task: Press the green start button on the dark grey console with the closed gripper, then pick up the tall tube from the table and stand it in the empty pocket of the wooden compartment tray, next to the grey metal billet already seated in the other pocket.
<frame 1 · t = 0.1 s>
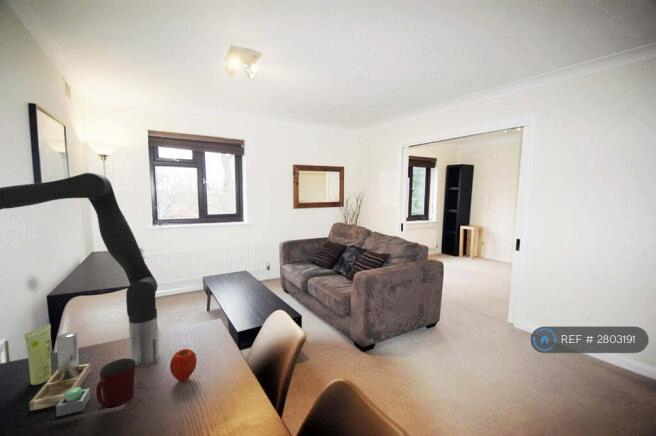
wooden compartment tray: (63, 390, 92), on the table
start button: (73, 396, 84), point 4 cm above the table, slide at 0.0 cm
console: (74, 409, 84), on the table
tube: (40, 383, 96), on the table
mug: (115, 403, 87), on the table
apple: (184, 380, 99), on the table
seated billet: (69, 380, 96), resting on wooden compartment tray
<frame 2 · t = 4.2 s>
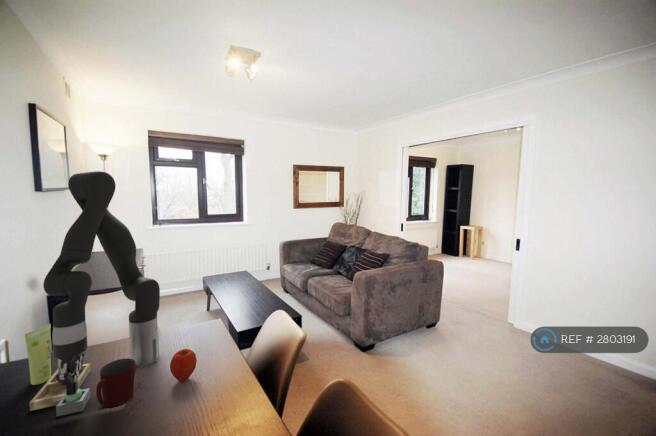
hand: (72, 393, 84), 5 cm above the table, tool pointing down, fingers closed
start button: (73, 397, 84), point 4 cm above the table, slide at 0.5 cm, touching gripper
everything else where it was.
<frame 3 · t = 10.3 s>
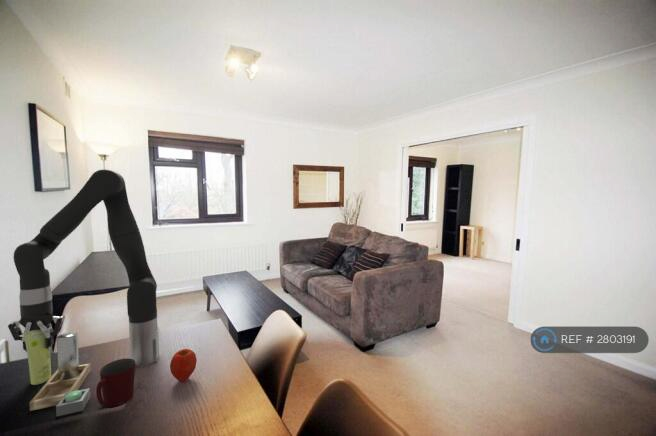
hand: (38, 348, 95), 12 cm above the table, tool pointing down, fingers closed on tube, 4 cm apart
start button: (73, 399, 84), point 3 cm above the table, slide at 1.0 cm
tube: (40, 383, 96), on the table, touching gripper
everything else where it was.
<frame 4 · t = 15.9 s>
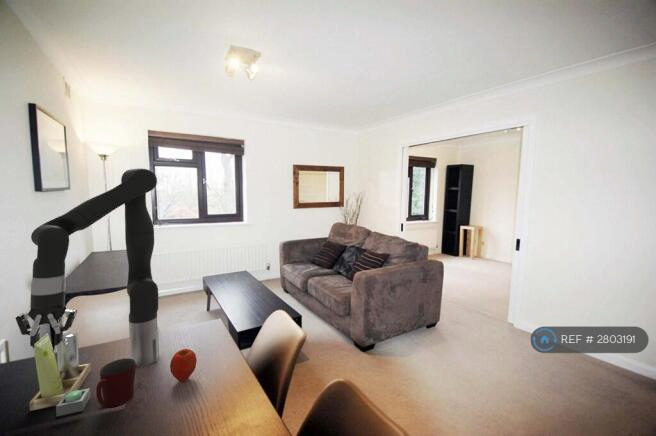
hand: (46, 345, 86), 19 cm above the table, tool pointing down, fingers open, 4 cm apart
tube: (53, 397, 88), point 1 cm above the table, touching gripper, wooden compartment tray
everything else where it was.
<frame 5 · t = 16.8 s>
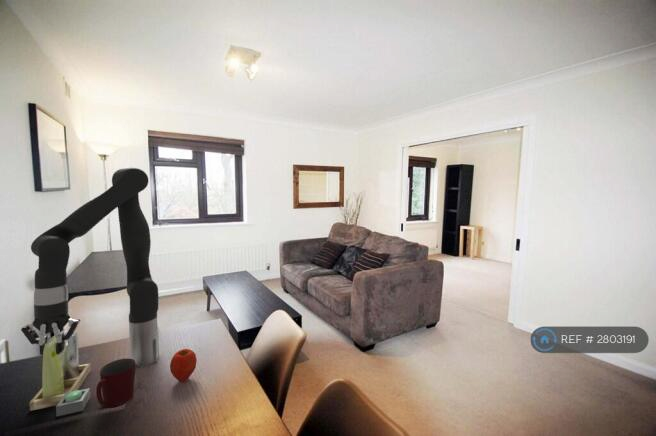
hand: (52, 353, 87), 15 cm above the table, tool pointing down, fingers closed on tube, 2 cm apart
tube: (53, 398, 88), point 1 cm above the table, touching gripper, wooden compartment tray
everything else where it was.
when the fingers open (15 cm above the table, at t = 16.9 s): tube stays where it is, resting on wooden compartment tray.
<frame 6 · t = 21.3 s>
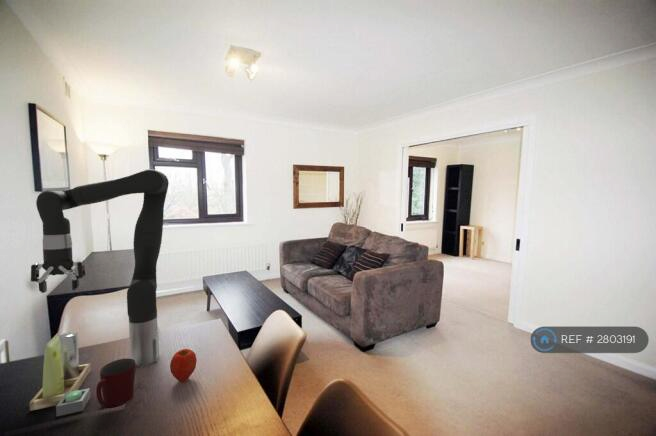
hand: (59, 290, 101), 30 cm above the table, tool pointing down, fingers open, 8 cm apart
tube: (53, 398, 88), point 1 cm above the table, touching wooden compartment tray
everything else where it was.
at the end: tube 1.0 cm from the target spot on the wooden compartment tray, point 0.9 cm above the wooden compartment tray's base; tube tilted 1°; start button slide at 1.0 cm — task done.
